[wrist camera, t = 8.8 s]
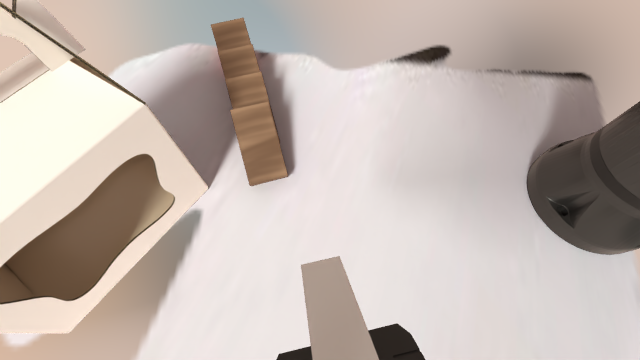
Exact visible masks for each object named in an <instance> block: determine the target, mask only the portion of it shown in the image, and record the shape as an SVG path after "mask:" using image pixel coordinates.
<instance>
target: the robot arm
mask: <svg viewBox="0 0 640 360" xmlns="http://www.w3.org/2000/svg"><path fill="white" fill-rule="evenodd" d="M527 187H528V193H529V197H530V200H531V202H532V205H533V207H534V209H535V210H536V212H537V214H538V215H539V216H540V218H541V219H542V220H543V222H544V223H545V224H546V225H547V226H548V227H549V228H550V229H551V230H552V231H553V232H554V233H555V234H557V235H558V236H559V237H561V238H562V239H564V240H565V241H567V242H568V243H570V244H572V245H574V246H576V247H578V248H581V249H583V250H586V251H589V252H593V253H598V254H606V255H612V254H620V253H624V252H628V251H632V250H636V249H639V248H640V102H638V103H637V104H635V105H634V106H633V107H631V108H630V109H628V110H627V111H626V112H624V113H623V114H621V115H620V116H619V117H617V118H616V119H614V120H613V121H611V122H610V123H609V124H607V125H606V126H604V127H603V128H602V129H600V130H599V131H597V132H595V133H591V134H588V135H585V136H582V137H580V138H577V139H575V140H571V141H567V142H563V143H560V144H558V145H556V146H554V147H552V148H550V149H549V150H548V151H546V152H545V153H544V154H543V155H541V156H540V157H539V158H538V159H537V160H536V161H535V162H534V163H533V164H532V166H531V168H530V170H529V174H528V179H527ZM301 269H302V277H303V285H304V293H305V302H306V310H307V318H308V326H309V334H310V342H311V346H310V347H306V348H302V349H297V350H293V351H289V352H285V353H281V354H279V355H278V358H277V360H425V358H424V356H423V355H422V353H421V352H420V350H419V348H418V346H417V344H416V342H415V340H414V339H413V337H412V335H411V334H410V333H409V332H408V331H406V330H405V329H404V328H402V327H401V326H400V325H399V324H393V325H389V326H385V327H381V328H377V329H373V330H369V331H368V329H367V327H366V324H365V322H364V319H363V316H362V314H361V311H360V309H359V306H358V303H357V301H356V298H355V296H354V293H353V290H352V288H351V285H350V283H349V280H348V277H347V275H346V272H345V270H344V267H343V264H342V262H341V259H340V257H339V256H338V257H333V258H329V259H325V260H320V261H316V262H312V263H307V264H303V265H301Z"/></svg>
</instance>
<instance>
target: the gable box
mask: <svg viewBox="0 0 640 360" xmlns="http://www.w3.org/2000/svg"><path fill="white" fill-rule="evenodd" d="M1 7H2V8H3V9H5V10H6V11H8V12H9V13H11V14H12V16H11V15H9V14H8V13H7V12H6V11H4V10H3V9H2V8H1ZM0 35H1V36H8V37H11V38H14V39H16V40H18V41H20V42H21V43H23V44H24V45H25V46H26V47H27V48H28V49H29V50H30V51H31V53H29V54H28V55H26V56H25V57H24V58H22V59H20V60H19V61H17V62H16V63H14V64H12V65H11V66H9V67H8V68H6V69H4V70H3V71H1V72H0V333H70V332H71V331H72V330H73V329H74V328H75V327H76V325H77V324H78V323H79V322H80V321H81V320H82V319H83V318H84V317H85V316H86V315H87V314H88V313H89V312H90V311H91V310H92V309H93V308H94V307H95V306H96V305H97V304H98V303H99V302H100V301H101V300H102V299H103V297H104V296H105V295H106V294H107V293H108V292H109V291H110V290H111V289H112V288H113V287H114V286H115V285H116V284H117V283H118V282H119V281H120V280H121V279H122V278H123V277H124V276H125V275H126V274H127V272H129V270H130V269H131V268H132V267H133V266H134V265H135V264H136V263H137V262H138V261H139V260H140V259H141V258H142V257H143V256H144V255H145V254H146V253H147V252H148V251H149V250H150V249H151V248H152V247H153V246H154V245H155V244H156V243H157V241H158V240H159V239H160V238H161V237H162V236H163V235H164V234H165V233H166V232H167V231H168V230H169V229H170V228H171V227H172V226H173V225H174V224H175V223H176V222H177V221H178V220H179V219H180V218H181V217H182V216H183V215H184V213H185V212H186V211H187V210H188V209H189V208H190V207H191V206H192V205H193V204H194V203H195V202H196V201H197V200H198V199H199V198H200V197H201V196H202V195H203V194H204V193H205V192H206V191H207V190H208V185H207V184H206V183H205V181H204V180H203V179H202V177H201V176H200V175H199V173H198V172H197V171H196V169H195V168H194V167H193V165H192V164H191V163H190V161H189V160H188V159H187V157H186V156H185V155H184V153H183V152H182V151H181V149H180V148H179V147H178V145H177V144H176V143H175V141H174V140H173V139H172V137H171V136H170V135H169V133H168V132H167V131H166V129H165V128H164V127H163V125H162V124H161V123H160V121H159V120H158V119H157V117H156V116H155V115H154V113H153V112H152V111H151V109H150V108H149V107H148V105H147V104H146V103H145V102H144V101H142V100H141V99H139V98H138V97H137V96H135V95H134V94H132V93H131V92H129V91H128V90H126V89H125V88H124V87H122V86H121V85H119V84H118V83H116V82H115V81H114V80H112V79H111V78H109V77H108V76H106V75H105V74H103V73H102V72H100V71H99V70H98V69H96V68H95V67H93V66H92V65H91V64H89V63H88V62H86V61H85V60H83V59H82V58H80V57H79V56H78V54H79V53H81V52H82V51H84V50H85V48H84V47H83V46H82V45H81V44H80V43H79V42H78V41H77V40H76V39H75V38H74V37H73V36H72V35H71V34H70V33H69V32H68V31H67V30H66V29H65V28H64V27H63V26H62V25H61V24H60V23H59V22H58V21H57V20H56V18H54V16H53V15H52V14H50V12H49V11H48V10H47V9H46V8H45V7H44V6H43V5H42V4H41V3H40V2H39V1H38V0H13V2H12V10H11V9H10V8H8V7H7V6H5V5H4V4H2V3H1V2H0Z"/></svg>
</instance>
